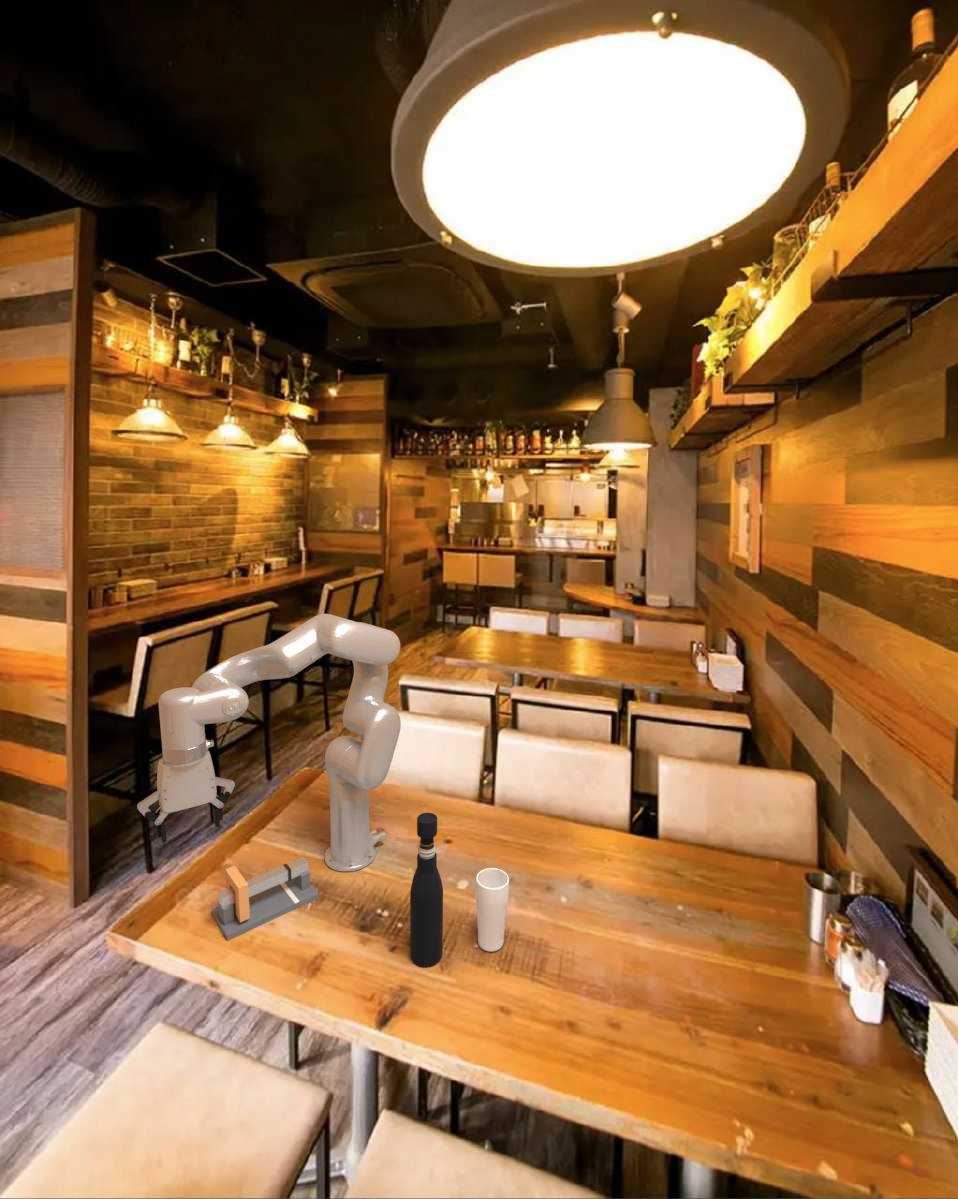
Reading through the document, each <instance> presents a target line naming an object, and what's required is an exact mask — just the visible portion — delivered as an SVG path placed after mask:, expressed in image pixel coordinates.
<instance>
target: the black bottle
mask: <svg viewBox="0 0 958 1199" xmlns="http://www.w3.org/2000/svg"><path fill="white" fill-rule="evenodd" d="M416 834H417V837H419V838H420V840H419V843H420V844H419V845H418V851H417V852H418V853H417V856H416V860H417V861H416V866H417V867H416V869H415V871H414V874H413V877H412V882H411V886H410V891H409V893H410V894H409V895H410V896H409V897H410V900H409V901H410V902H409V904H410V906H409V914H410V915H409V916H410V917H409V926H410V927H409V930H410V931H409V934H410V935H409V939H410V940H409V942H410V943H409V947H410V948H409V957H410V961H411V962H412V963H413V964H414V965H415V966H416V967H420V968H426V969H427V968H430V967H431V968H432V967H434V966H436V965H437V964H439V962H440V961H441V960H442V957H443V944H444V943H443V931H444V925H443V924H444V885H443V882H442V878H441V875H440V872H439V869H438V867H437V864H438V863H437V862H438V861H437V860H438V859H437V851H436V850H437V849H436V844H435V840H434V838H435V837H436V836H438V835H437V834H438V816H437V815H436V814H434V813H432V812H423V813H420V814H419V815H418V816H417V818H416Z"/></svg>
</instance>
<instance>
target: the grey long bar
mask: <svg viewBox="0 0 958 1199" xmlns="http://www.w3.org/2000/svg"><path fill="white" fill-rule="evenodd" d="M309 870H310V869H309V861H308V860H307V859H306V858H305V857H304V856H302V857H301V858H298V859H296V860H294V861H291V862H289V863H284V864H282V865H281V866H279V867H277V868H274V869H271V870H269V871H267V872H265V873H262V874H260V875H257V876H255V877H252V878H250V879H248V880H245V881H246V882H247V883H248V891H249V897H251V896H253V895H256V894H258V893H260V892H263V891H265V890H267V889H269V888H272V887H274V886H276V885H279V884H281V883H283V882H286V881H290V880H292V879H293V878H295V877H297V876H299V875H302V874H304V873H306V872H310V871H309ZM217 896H218V901H219V904H220V905H221V907H222V909H223V908H226V907H228V906H230V905H233V904H235V903H236V898H235V891H234V890H233V888H232V887H230V888H228V889H227V888H226V889H224V890H221V891H219V892H218V894H217Z"/></svg>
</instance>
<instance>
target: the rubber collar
mask: <svg viewBox="0 0 958 1199" xmlns="http://www.w3.org/2000/svg"><path fill="white" fill-rule="evenodd" d="M224 871H225V882H226V883H225V885H226V886H225V887H226V889H228V888H230V887H232V888H233V890H234V891H235V898H236V903H235V904H233V906H234V913H235V915H236V917H237V918H238V920H239V921H240V923H241V922H243V921H245V920H247V919H249V918H250V909H249V891H248V883H247V882H246V881H247V880H246V879H245V877H244V876H243V874H241V872H240V870H239V869H238V868H237V866H236V865H232V866H230V867H227V868H225V870H224Z"/></svg>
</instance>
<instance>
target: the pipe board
mask: <svg viewBox="0 0 958 1199" xmlns="http://www.w3.org/2000/svg"><path fill="white" fill-rule="evenodd" d="M319 893H320V892H319V891H317V889H315V887H314V886H313V885H312V884H311V873H310V871H309V872H306V873H304V874H302V875H299V876H297V877H295V878H293V879H292V880H290V881H286V882H283V883H281V884H279V885H276V886H274V887H272V888H269V889H267V890H265V891H263V892H260V893H258V894H256V895H253V896H251V897H249V909H250V918H249V919H247V920H245V921H243V922H241V923H240V921H239V920H238V918H237V917H236V915H235V913H234V906H233V905H230V906H228V907H226V908H223V909H222V907H221V905H220V904H219V900H218V901H217V906H215V907H213V908H211V914H212V917H213V918H214V920H215V922H216V923H217V926H219V929H220V931H221V933H222V934H223V936H224V937H225V939H226V940H227V941H230V940H233V939H234V938H235V939H236V938H237V937H239V936H240V935H243V934H245V933H247V932H250V931H251V930H254V929H256V928H258V927H260V926H263V925H264V924H266V923H268V922H270V921H273V920H275V919H277V918H279V917H281V916H283V915H285V914H288V913H290V912H292V911H295V910H296V909H298V908H300V907H302V906H305V905H306V904H309V903H311V902H313V901H316V900H317V899H319V896H320V894H319Z"/></svg>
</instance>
